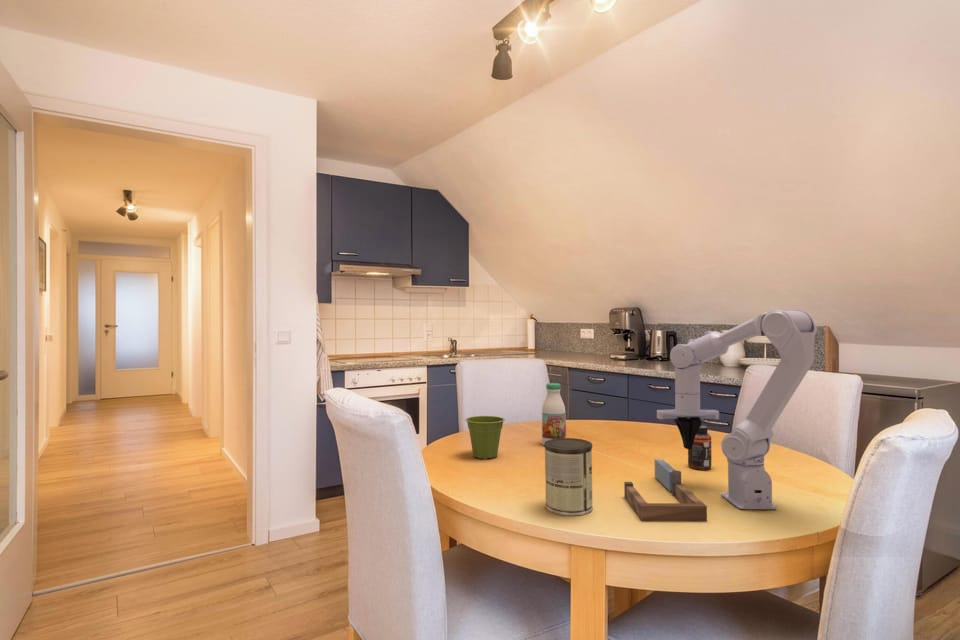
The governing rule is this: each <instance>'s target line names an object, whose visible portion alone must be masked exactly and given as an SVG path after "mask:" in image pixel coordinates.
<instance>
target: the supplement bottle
mask: <svg viewBox="0 0 960 640" xmlns="http://www.w3.org/2000/svg"><path fill="white" fill-rule="evenodd" d="M687 463H688V467H689V468H691V469H693V470H698V471H699V470H701V471H704V470H705V471H707V470H710V469H711V468H712V436H711V435H710V434H709V433H708V426H706V425H702V424H701V426H700V428H699V430H698V431H697V434H696V436H695V439H694V442H693V446H692V449H687Z"/></svg>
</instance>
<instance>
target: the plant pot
mask: <svg viewBox="0 0 960 640" xmlns="http://www.w3.org/2000/svg"><path fill="white" fill-rule="evenodd" d="M464 420H465V421H466V423H467V427H468V431H469V436H470V437H469V438H470V442H471V444H470V445H471V450H472V455H473V457H474V458H478V459H480V458H484V459H483V460H487V459H486V458H490V459H492V458H497V457H498V454H499V453H498V452H499V446H500V440H501V433H502V430H503V425H504V422H505V421H506V418H504V417H500V416H496V415H495V416H494V415H475V416H469V417H466V418H465V419H464ZM496 456H497V457H496Z"/></svg>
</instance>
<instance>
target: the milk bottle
mask: <svg viewBox="0 0 960 640" xmlns="http://www.w3.org/2000/svg"><path fill="white" fill-rule="evenodd" d="M561 387H562V386H561V383H558V382H549V383H546V396H545V398H544V401H543V404H542V407H541V444H542V446H544V443H545V442H546V441H548V440H551V439H557V438H567V427H566V425H567V419H566V418H567V417H566V415H567V413H566V406H565V404H564V401H563V399H562V396H561Z"/></svg>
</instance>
